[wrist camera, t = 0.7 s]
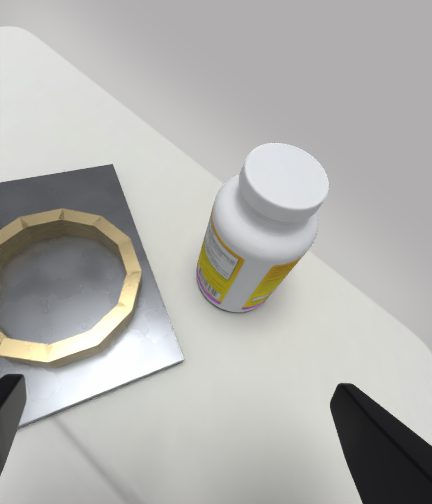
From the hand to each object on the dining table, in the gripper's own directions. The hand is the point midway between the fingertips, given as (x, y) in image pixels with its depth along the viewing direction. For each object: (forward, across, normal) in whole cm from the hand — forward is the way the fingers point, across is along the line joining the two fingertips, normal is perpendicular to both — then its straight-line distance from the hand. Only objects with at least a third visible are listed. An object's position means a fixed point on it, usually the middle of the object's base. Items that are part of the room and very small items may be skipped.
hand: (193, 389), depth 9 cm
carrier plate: (+16, +9, +7) cm, 20 cm away
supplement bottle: (+17, -5, +6) cm, 19 cm away
